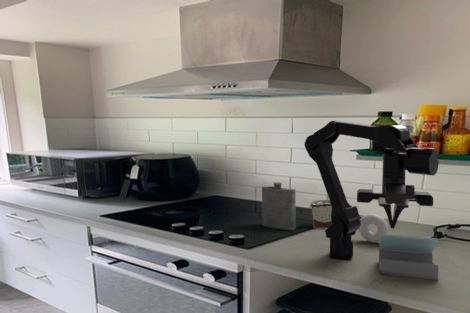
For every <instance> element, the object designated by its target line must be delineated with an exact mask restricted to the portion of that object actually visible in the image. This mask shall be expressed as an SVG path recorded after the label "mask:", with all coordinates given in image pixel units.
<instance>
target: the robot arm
mask: <svg viewBox="0 0 470 313" xmlns="http://www.w3.org/2000/svg"><path fill="white" fill-rule="evenodd" d="M340 135H341V136H342V135H343V136H346V137H353V138H358V139H359V138H360V139H365V140H370V141H372V142H375V143H376V144H377V145H381V146H380V147H379V149H377V150H376V151H375V152H374V154H375V155H382V177H381V179H382V181H381V192H373V189H367V188H366V189H365V188H358V189H357V191H356V192H357V193H356V202H357V203H361V204H362V203H366V204H367V203H368V204H369V203H371V202H372V201H373V200H375V201H376V200H377V202H378V206H379V207H382V208H383V209H384V211H385V213H386V216H387V220H388V223H389V226H390V227H389V228H390V229H393V230H394V229H395V226H396V224H397V222H398V220H399V217H400V215H401V214H402V212H403V210H404V209H408V208H410V206H409V202H416V203H417V204H418V205H419V206H421V207H423V206H424V207H434V197H433V195H432V194H431V193H429V192H428V191H418V190H417V191H415V185H413V184H406V171H407V172H408V173H409V174H414V175H424V176H436V174H437V172H438V169H439V162H440V161H439V159H438V155H437V153H436V148H433V147H431V148H430V147H427V148H419V147H418V145H417V144H416V143H415V142H414V140H413V139H412V137H411V133H410V131H409V129H408V128H407V126H405V125H403V124H402V125H399V124H398V125H396V124H395V125H369V124H361V123H354V122H347V121H346V122H345V121H342V120H331V121H329V122H327V124H326V125H324V126H323V127H321V128H320V129H318V130H317V131H314V133H313V134H310V135H308V136H307V137H306V139H305V141H304V143H303V144H304V148H305V150H306V152H307V154H308V156H309V158H311V159H312V161H314V163H315V164H316V165H317V168H318V172H319V173H320V176H321V180H322V182H323V185H324V188H325V191H326V194H327V196H328V200H330V203H331V206H332V211H331V221H332V225H331V226H330V227H329V228H325V230H324V233H325V237H326V239H329V254H328V258H329V259H337V260H348V261H350V260H352V257H353V256H354V240H352V236H355V235H356V233H357V231H359V227H360V225H361V221H360V220H361V218H362V216H361V215H360V214H359V209H358V207H357V206H356V205H353V206H352V205H351V204H350V203H349V202H348V200H347V196H346V195H345V194H346V193H345V192H344V189H343V187H342V183H341V181H340V178H339V174H338V172H337V169H336V167H335V164H334V161H333V153H334V149H333V144H334V143H335V142H336V141H338V138H339V136H340ZM392 204H394V205H393V206H394V207H393V213H392Z"/></svg>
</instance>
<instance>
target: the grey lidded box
mask: <svg viewBox="0 0 470 313" xmlns="http://www.w3.org/2000/svg"><path fill="white" fill-rule="evenodd" d="M433 258H434V255H433V253H432V254H431V253H419V252H408V251H397V250H386V249H379V248H378V267H379V274H380V275H388V276H389V275H390V276H396V277H397V276H398V277H407V278H416V279H424V280H433V281H434V280H435V281H438V280H439V263H435V262H433V261H434V259H433Z"/></svg>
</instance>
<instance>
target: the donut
mask: <svg viewBox="0 0 470 313" xmlns="http://www.w3.org/2000/svg"><path fill="white" fill-rule="evenodd" d="M360 221H361V225H360V227H359V229H358V232H359V234H360V236H361V237H362V238H363V239H364V240H366V241H367V242H369V243H373V244H378V243H380V236H381V234H385V235H386V234H389V232H390V229H389V228H390V227H389V224H388V222H387V221H386V220H385V219H384V218H383V216H381V215H379V214H375V213H368V214H365V215H363V216H361V219H360ZM370 225H375V226H376V227H377V231H376V232H372V231H371V230H370V228H369V227H370Z"/></svg>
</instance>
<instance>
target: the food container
mask: <svg viewBox="0 0 470 313" xmlns="http://www.w3.org/2000/svg"><path fill="white" fill-rule="evenodd" d="M309 209H310V210H311V214H312V215H311V216H312V225H313V229H327V228H329V227H330V226H331V225H332V221H331V211H332V206H331V203H330V200H329V199H318V200H317V199H316V200H313V201H311V203H310V205H309Z"/></svg>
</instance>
